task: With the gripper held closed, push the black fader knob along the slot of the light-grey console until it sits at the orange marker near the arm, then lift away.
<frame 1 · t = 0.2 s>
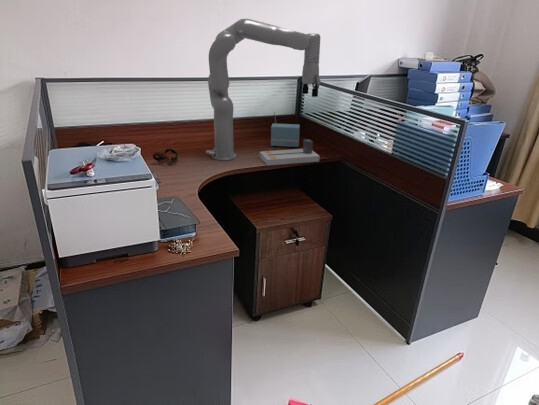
hand: (309, 95, 202), 31 cm above the table, tool pointing down, fingers open, 9 cm apart
console: (289, 159, 202), on the table
radio: (284, 146, 226), on the table
fader knob: (307, 146, 202), point 6 cm above the table, slide at 0.0 cm
dark linked rings: (165, 163, 193), on the table
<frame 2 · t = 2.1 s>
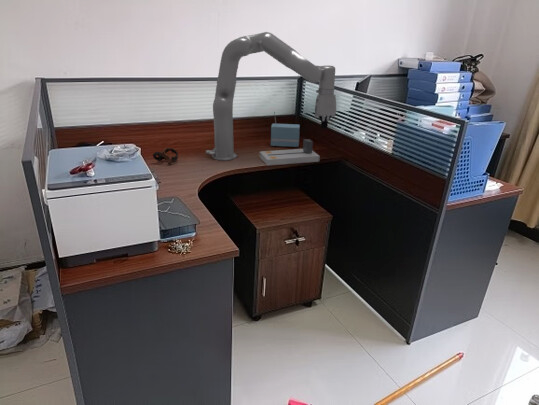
hand: (324, 128, 201), 15 cm above the table, tool pointing down, fingers closed
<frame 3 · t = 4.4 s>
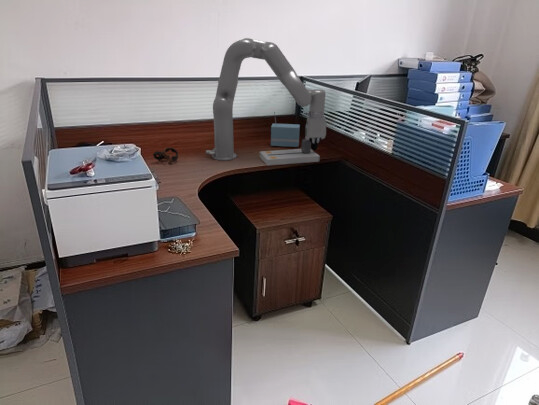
hand: (314, 149, 204), 4 cm above the table, tool pointing down, fingers closed
fader knob: (306, 146, 202), point 6 cm above the table, slide at 0.9 cm, touching gripper
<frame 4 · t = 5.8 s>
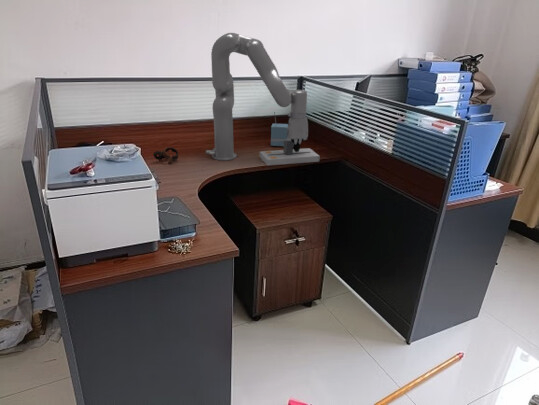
hand: (296, 151, 202), 4 cm above the table, tool pointing down, fingers closed
fader knob: (288, 147, 200), point 6 cm above the table, slide at 10.8 cm, touching gripper
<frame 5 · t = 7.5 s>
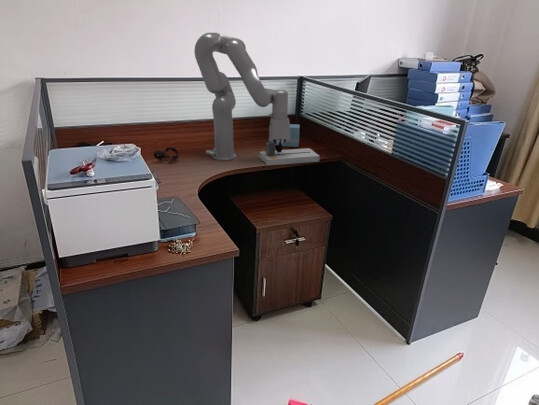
hand: (279, 151, 199), 4 cm above the table, tool pointing down, fingers closed
fader knob: (270, 148, 197), point 6 cm above the table, slide at 20.2 cm, touching gripper
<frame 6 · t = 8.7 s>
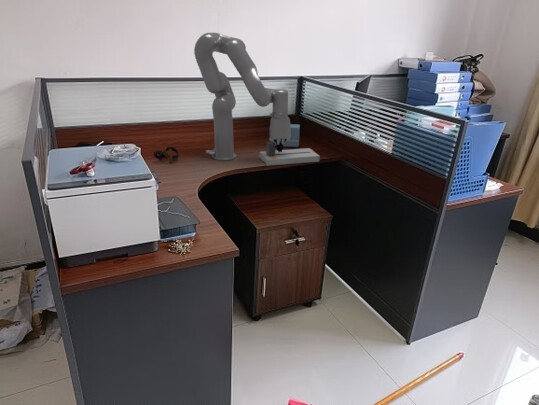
hand: (279, 151, 199), 5 cm above the table, tool pointing down, fingers closed
fader knob: (270, 148, 197), point 6 cm above the table, slide at 20.1 cm
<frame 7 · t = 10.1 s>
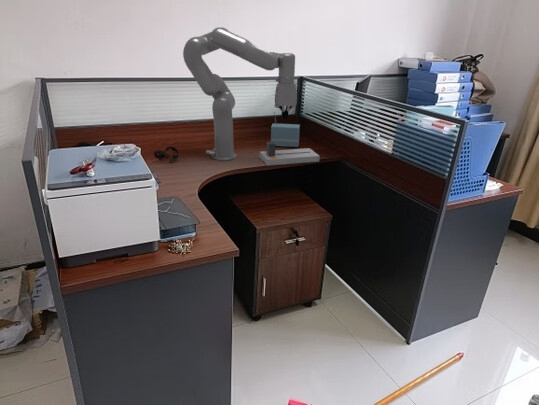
hand: (284, 119, 193), 21 cm above the table, tool pointing down, fingers closed
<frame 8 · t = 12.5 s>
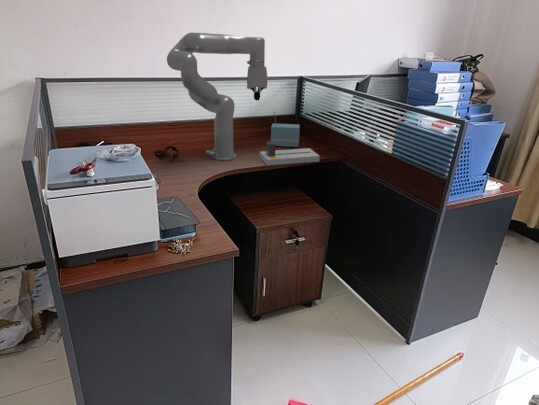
hand: (256, 99, 206), 27 cm above the table, tool pointing down, fingers closed
at the end: fader knob slide at 20.1 cm; radio moved 0.3 cm from its start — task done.
